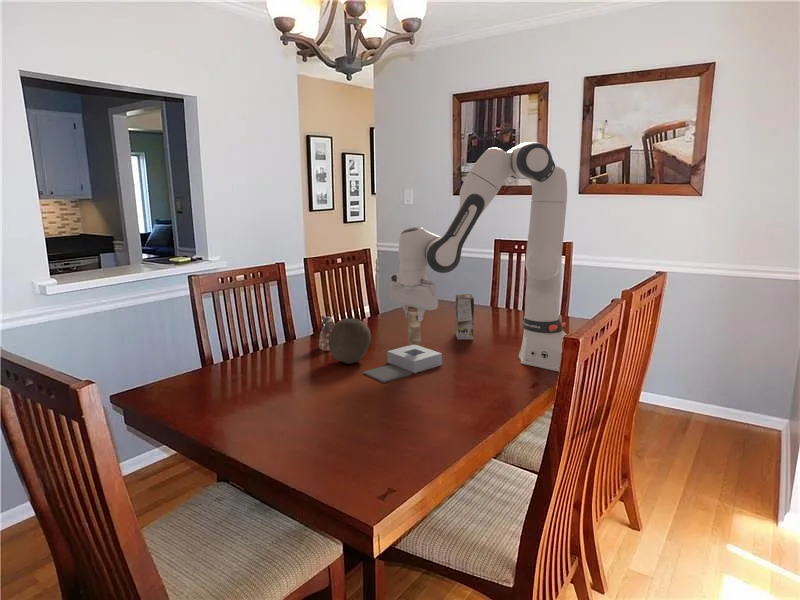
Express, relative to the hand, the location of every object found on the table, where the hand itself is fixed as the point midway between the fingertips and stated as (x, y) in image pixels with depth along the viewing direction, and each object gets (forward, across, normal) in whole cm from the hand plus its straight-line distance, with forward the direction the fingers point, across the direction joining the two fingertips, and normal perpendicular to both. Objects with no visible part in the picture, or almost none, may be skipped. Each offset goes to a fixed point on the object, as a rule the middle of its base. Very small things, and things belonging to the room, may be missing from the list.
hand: (414, 319), depth 177 cm
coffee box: (+16, +12, -36) cm, 41 cm away
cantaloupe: (+15, +16, +15) cm, 27 cm away
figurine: (+15, +35, +12) cm, 40 cm away
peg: (+8, 0, 0) cm, 8 cm away
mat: (+15, -2, +13) cm, 20 cm away
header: (+15, 0, 0) cm, 15 cm away
